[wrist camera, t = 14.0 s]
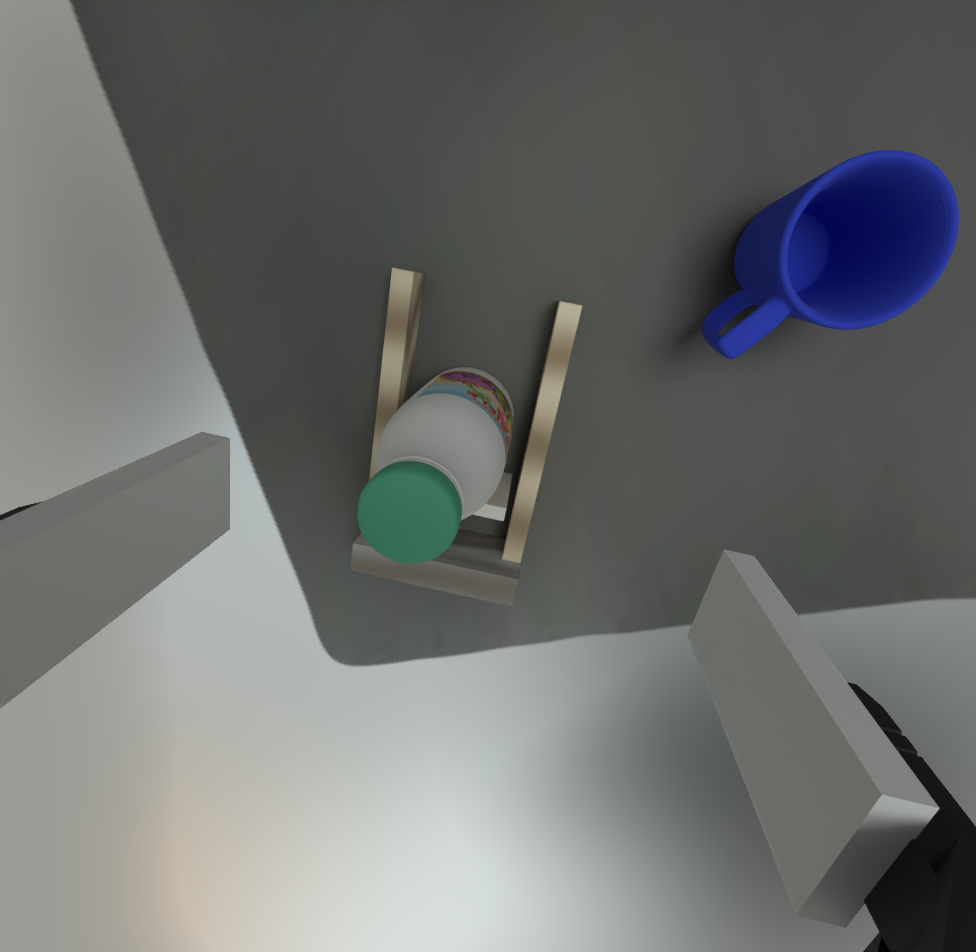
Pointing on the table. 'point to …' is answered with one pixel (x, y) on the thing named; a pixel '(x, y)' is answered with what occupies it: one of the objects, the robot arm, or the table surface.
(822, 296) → the mug
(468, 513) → the milk bottle
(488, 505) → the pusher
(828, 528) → the table surface
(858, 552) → the table surface
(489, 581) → the lane
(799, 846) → the robot arm
